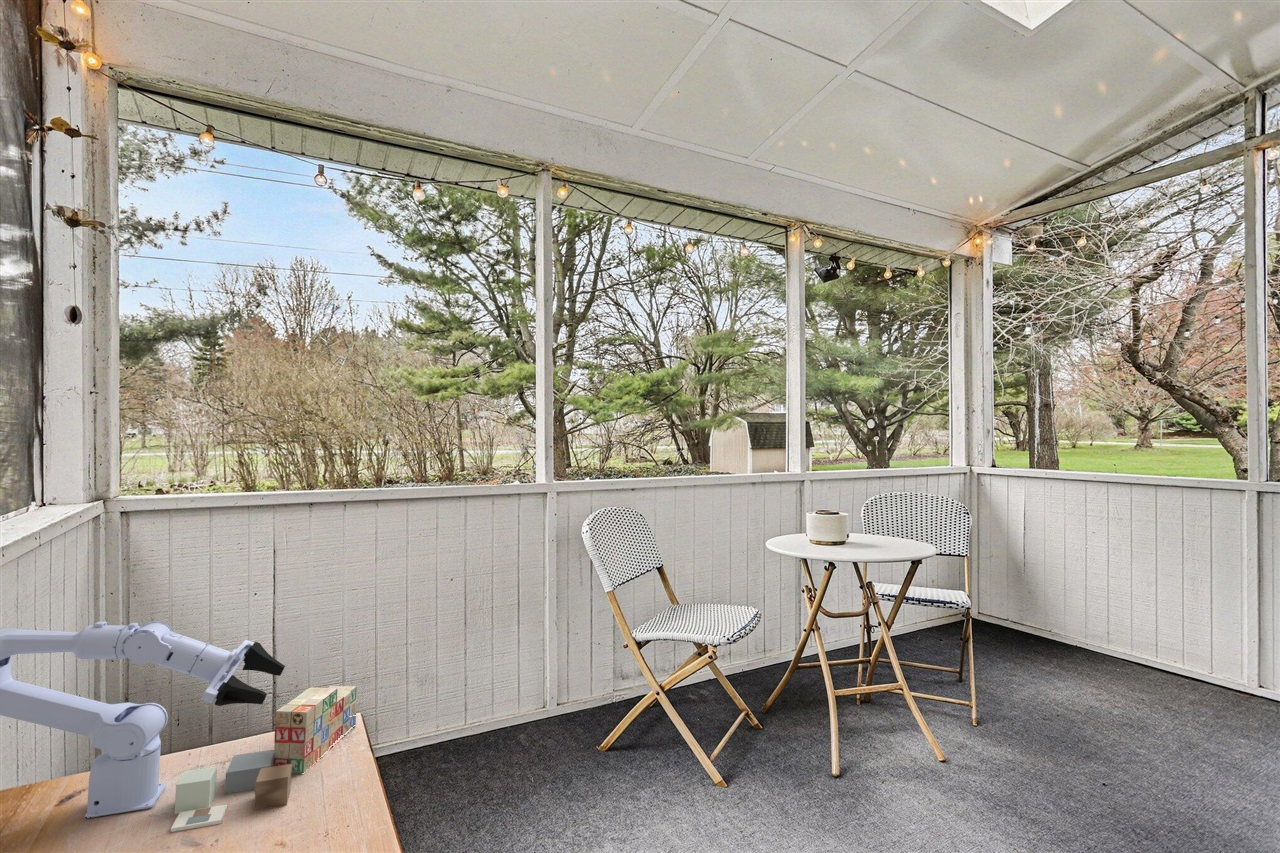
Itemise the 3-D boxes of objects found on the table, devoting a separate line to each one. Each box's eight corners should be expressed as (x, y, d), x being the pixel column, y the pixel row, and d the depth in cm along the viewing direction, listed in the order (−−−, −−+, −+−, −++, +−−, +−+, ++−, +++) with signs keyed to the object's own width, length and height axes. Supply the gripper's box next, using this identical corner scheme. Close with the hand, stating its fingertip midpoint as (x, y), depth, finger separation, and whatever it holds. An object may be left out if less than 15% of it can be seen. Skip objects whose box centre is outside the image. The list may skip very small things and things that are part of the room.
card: (170, 832, 102) (170, 827, 102) (179, 815, 107) (180, 811, 107) (220, 823, 105) (220, 819, 105) (227, 807, 110) (227, 803, 110)
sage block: (174, 814, 108) (176, 784, 108) (183, 799, 112) (184, 771, 112) (208, 808, 109) (210, 779, 110) (215, 794, 114) (217, 766, 114)
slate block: (224, 794, 114) (225, 772, 114) (232, 776, 121) (233, 755, 121) (268, 787, 117) (269, 766, 117) (274, 770, 123) (275, 749, 123)
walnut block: (254, 811, 109) (255, 781, 109) (259, 796, 114) (260, 768, 114) (286, 805, 111) (288, 776, 111) (290, 791, 116) (291, 763, 116)
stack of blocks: (329, 726, 143) (331, 671, 143) (356, 727, 143) (358, 672, 143) (272, 773, 122) (275, 710, 122) (303, 775, 121) (306, 711, 122)
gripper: (184, 670, 107) (263, 696, 110) (227, 619, 121) (297, 644, 124) (170, 700, 108) (249, 725, 112) (215, 646, 122) (284, 670, 125)
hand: (274, 684), depth 118 cm, fingers open, 7 cm apart
